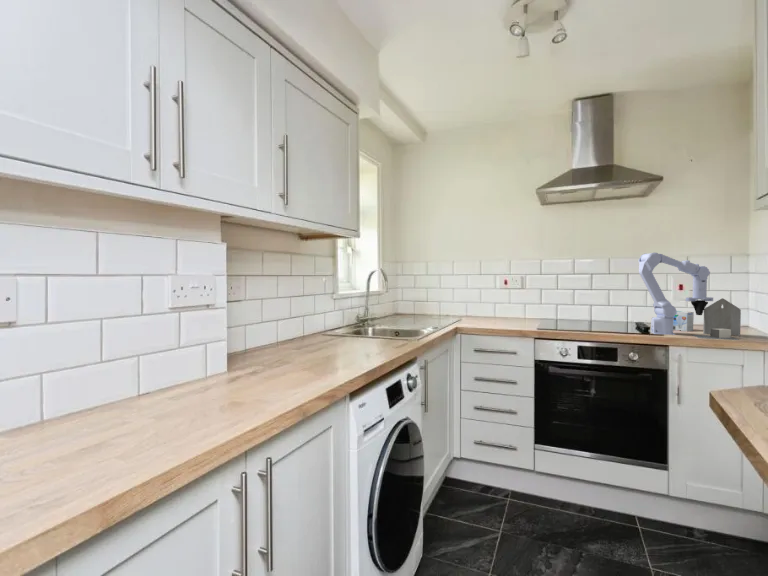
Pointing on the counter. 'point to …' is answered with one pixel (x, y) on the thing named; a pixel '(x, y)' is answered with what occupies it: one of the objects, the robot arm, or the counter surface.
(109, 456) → the counter surface
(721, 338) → the rubber mat
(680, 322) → the light bulb box
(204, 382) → the counter surface
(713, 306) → the gray chamfered slab
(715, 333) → the cream block
